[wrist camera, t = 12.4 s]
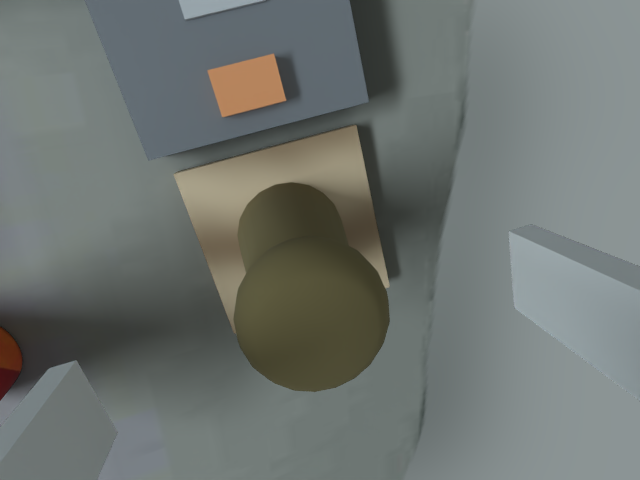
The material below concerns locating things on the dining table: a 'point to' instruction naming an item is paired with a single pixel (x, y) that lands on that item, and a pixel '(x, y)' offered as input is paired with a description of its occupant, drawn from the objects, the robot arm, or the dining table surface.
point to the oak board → (265, 171)
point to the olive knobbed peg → (305, 292)
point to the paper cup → (8, 361)
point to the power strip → (228, 65)
